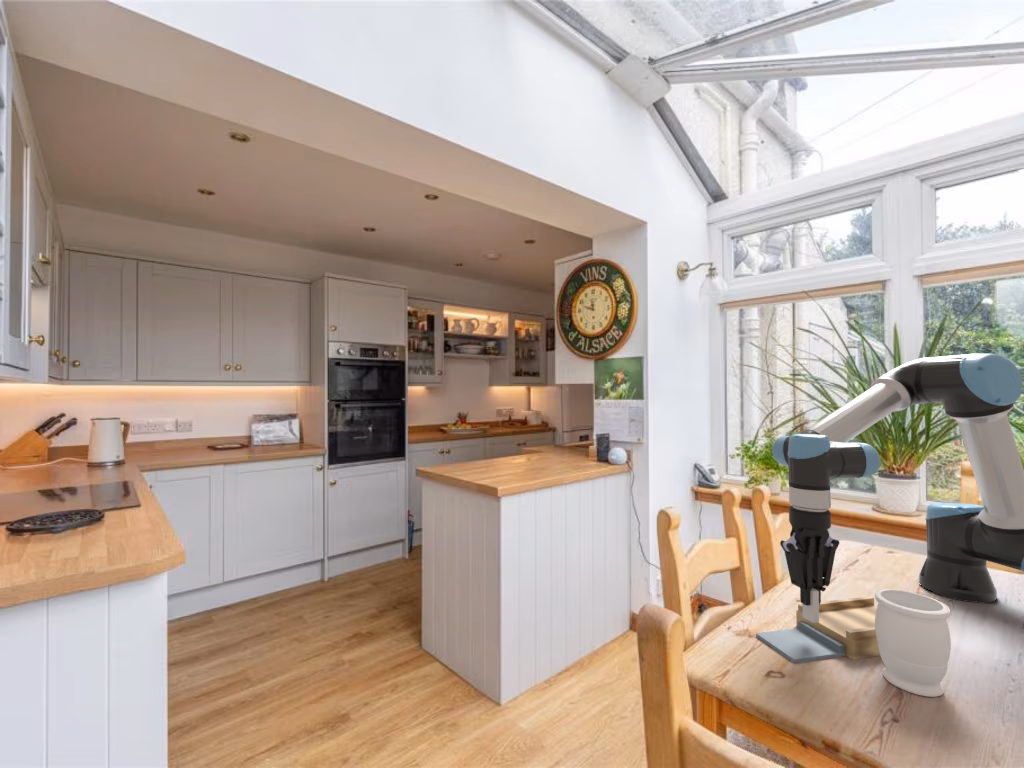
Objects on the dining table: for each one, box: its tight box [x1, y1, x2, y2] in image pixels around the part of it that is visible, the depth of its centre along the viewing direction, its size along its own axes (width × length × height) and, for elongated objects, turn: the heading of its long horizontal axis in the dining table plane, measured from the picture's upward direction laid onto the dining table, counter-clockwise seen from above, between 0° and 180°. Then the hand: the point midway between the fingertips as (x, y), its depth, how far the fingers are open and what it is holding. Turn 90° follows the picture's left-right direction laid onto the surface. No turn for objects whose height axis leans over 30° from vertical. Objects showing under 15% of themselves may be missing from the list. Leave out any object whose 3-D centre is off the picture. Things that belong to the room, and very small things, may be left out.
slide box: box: [795, 596, 881, 660], centre depth 103 cm, size 20×14×5 cm
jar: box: [874, 588, 952, 698], centre depth 86 cm, size 11×10×15 cm
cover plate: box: [755, 621, 846, 664], centre depth 99 cm, size 12×10×3 cm
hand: (810, 619), depth 100 cm, fingers closed
